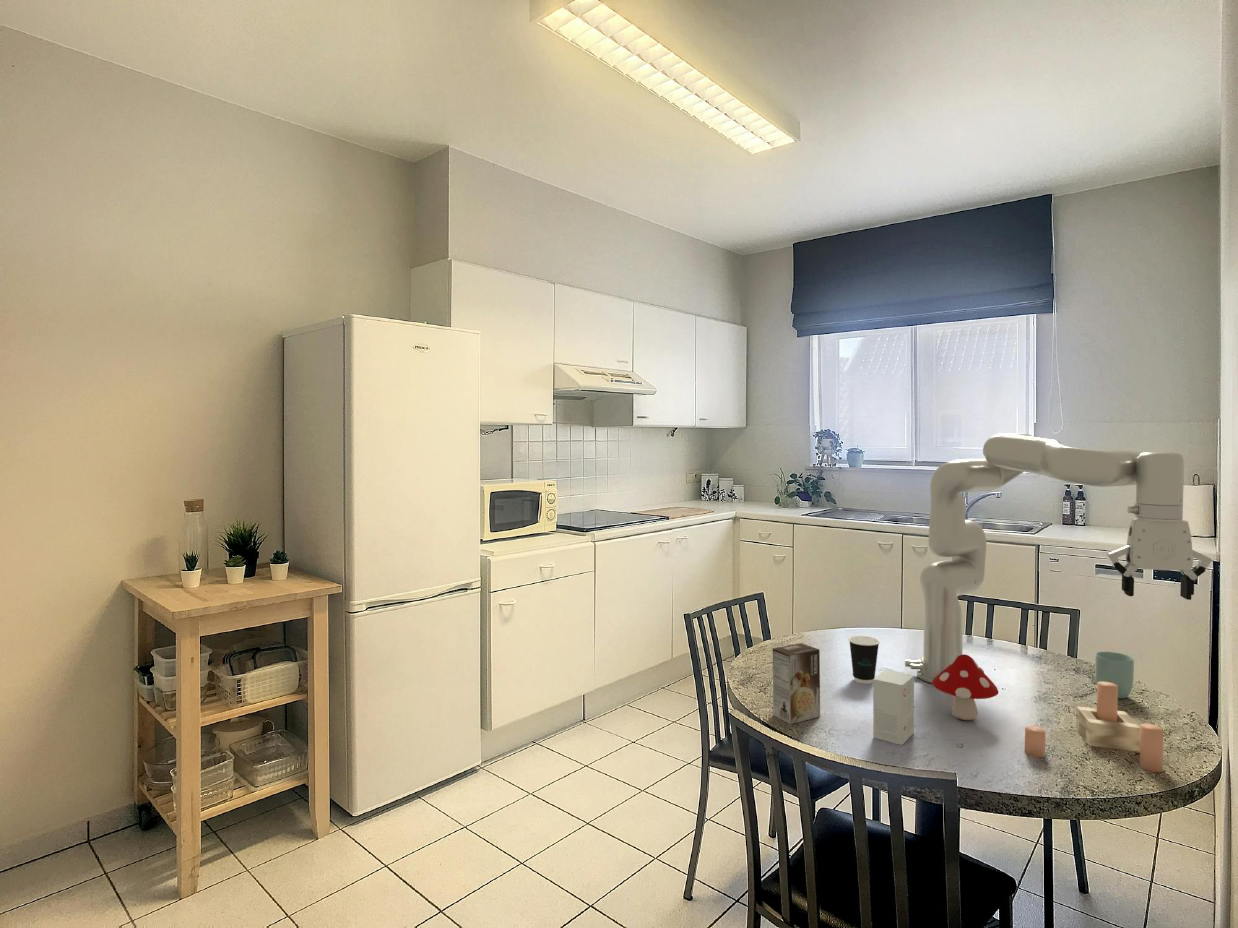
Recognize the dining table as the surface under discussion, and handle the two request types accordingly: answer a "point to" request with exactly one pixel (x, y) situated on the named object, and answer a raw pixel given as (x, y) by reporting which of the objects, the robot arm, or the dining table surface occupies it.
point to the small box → (893, 706)
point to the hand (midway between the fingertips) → (1157, 596)
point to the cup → (1115, 671)
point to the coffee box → (796, 683)
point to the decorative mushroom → (965, 686)
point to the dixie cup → (864, 658)
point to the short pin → (1035, 741)
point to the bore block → (1108, 730)
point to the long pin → (1107, 701)
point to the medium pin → (1151, 747)
